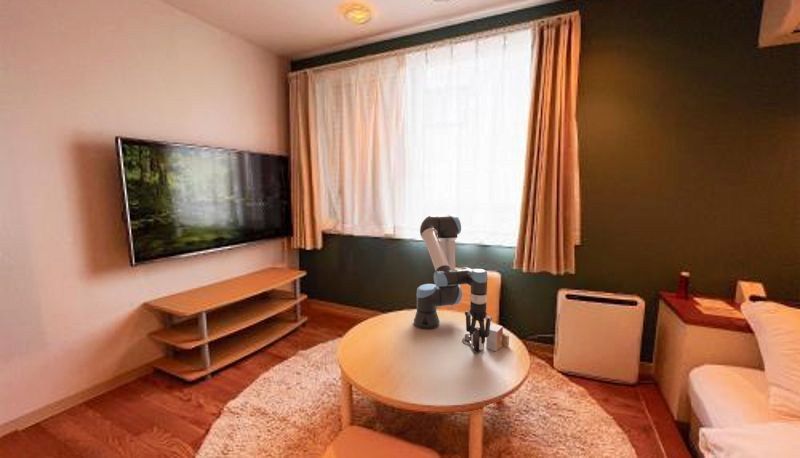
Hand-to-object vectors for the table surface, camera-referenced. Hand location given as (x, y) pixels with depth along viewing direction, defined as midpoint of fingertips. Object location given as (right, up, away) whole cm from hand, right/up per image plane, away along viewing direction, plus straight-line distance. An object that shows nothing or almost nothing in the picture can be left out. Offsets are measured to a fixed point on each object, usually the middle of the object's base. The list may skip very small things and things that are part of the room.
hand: (477, 347), depth 161 cm
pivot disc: (-1, -2, +14) cm, 14 cm away
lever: (+1, -2, +7) cm, 8 cm away
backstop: (+15, -2, +11) cm, 19 cm away
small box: (+11, -3, +8) cm, 13 cm away
